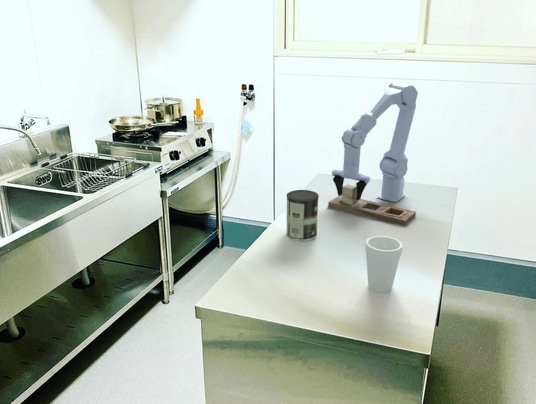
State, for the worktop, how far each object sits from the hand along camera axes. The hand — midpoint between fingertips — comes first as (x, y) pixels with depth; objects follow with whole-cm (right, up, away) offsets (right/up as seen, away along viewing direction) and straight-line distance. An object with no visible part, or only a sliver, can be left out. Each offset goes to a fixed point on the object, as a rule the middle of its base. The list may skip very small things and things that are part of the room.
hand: (349, 197), depth 197 cm
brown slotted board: (+7, -5, -3) cm, 10 cm away
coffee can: (-19, -13, -22) cm, 32 cm away
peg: (0, -3, +1) cm, 4 cm away
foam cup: (0, -25, -53) cm, 59 cm away
